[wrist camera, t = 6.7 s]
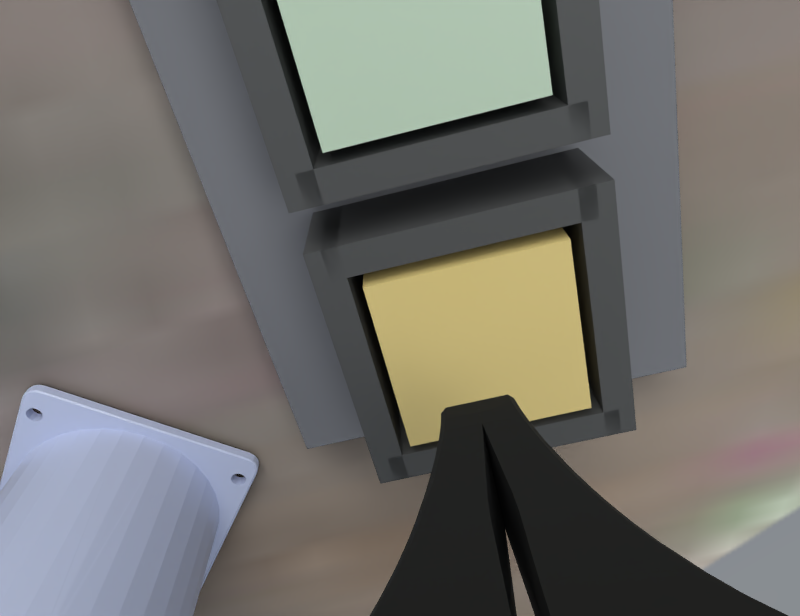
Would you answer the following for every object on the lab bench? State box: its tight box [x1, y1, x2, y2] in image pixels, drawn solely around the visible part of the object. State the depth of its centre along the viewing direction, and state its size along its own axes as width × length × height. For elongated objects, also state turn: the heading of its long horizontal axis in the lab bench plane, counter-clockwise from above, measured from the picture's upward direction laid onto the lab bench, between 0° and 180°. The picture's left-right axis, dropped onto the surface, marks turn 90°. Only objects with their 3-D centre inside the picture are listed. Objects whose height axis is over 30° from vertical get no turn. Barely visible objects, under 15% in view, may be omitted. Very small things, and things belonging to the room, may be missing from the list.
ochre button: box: [363, 227, 592, 446], centre depth 17 cm, size 5×5×2 cm
